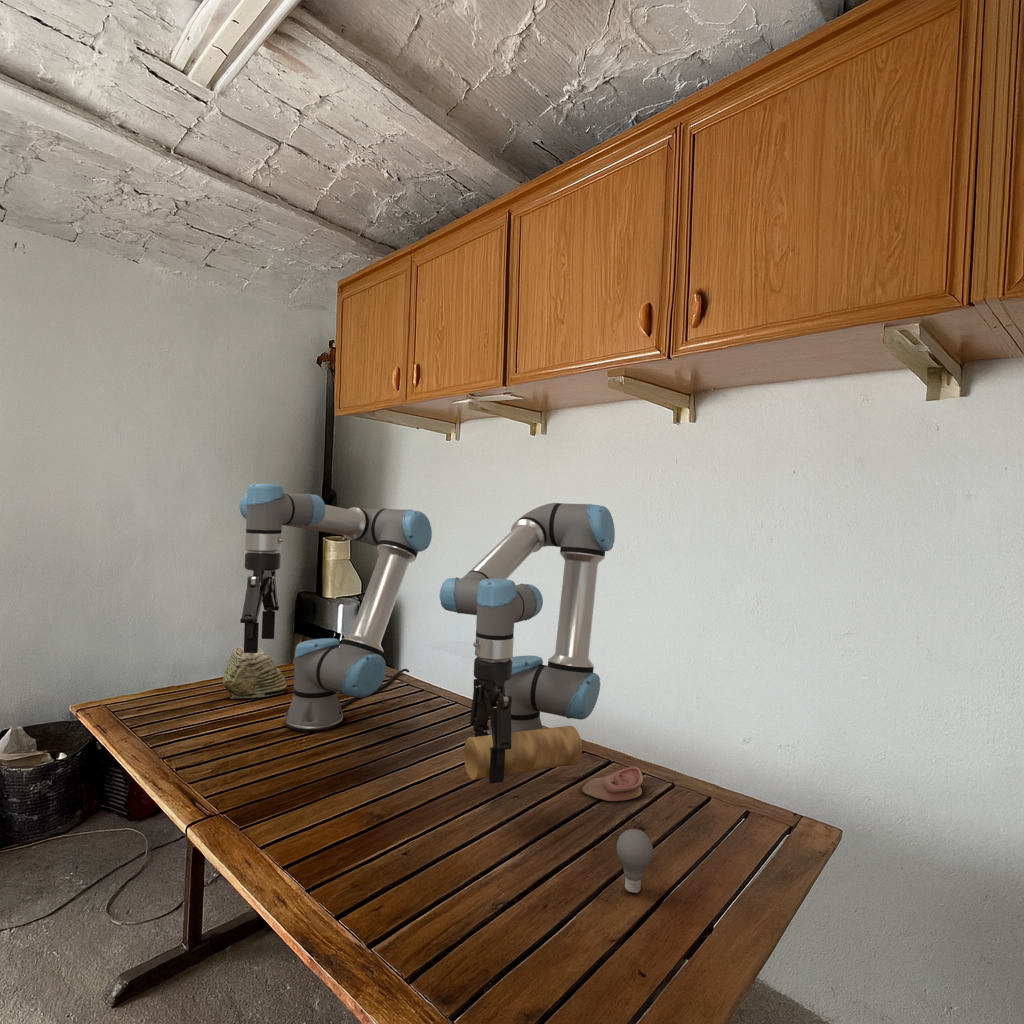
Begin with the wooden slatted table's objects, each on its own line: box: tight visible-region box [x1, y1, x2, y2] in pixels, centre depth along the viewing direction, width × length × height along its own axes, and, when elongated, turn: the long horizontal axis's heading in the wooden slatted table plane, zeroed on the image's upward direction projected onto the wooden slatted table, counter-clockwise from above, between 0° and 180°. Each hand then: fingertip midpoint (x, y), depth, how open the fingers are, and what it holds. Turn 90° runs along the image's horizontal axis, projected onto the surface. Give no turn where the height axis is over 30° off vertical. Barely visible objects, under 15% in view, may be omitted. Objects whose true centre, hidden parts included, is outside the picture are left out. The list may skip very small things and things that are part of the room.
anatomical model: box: [581, 766, 644, 802], centre depth 142 cm, size 13×4×12 cm
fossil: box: [222, 646, 288, 699], centre depth 198 cm, size 9×18×15 cm, turn 132°
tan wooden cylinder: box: [463, 725, 583, 780], centre depth 128 cm, size 23×8×8 cm, turn 115°
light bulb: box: [615, 828, 654, 894], centre depth 106 cm, size 6×6×10 cm
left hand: (259, 645), depth 143 cm, fingers open, 13 cm apart
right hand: (487, 772), depth 125 cm, fingers closed on tan wooden cylinder, 8 cm apart
